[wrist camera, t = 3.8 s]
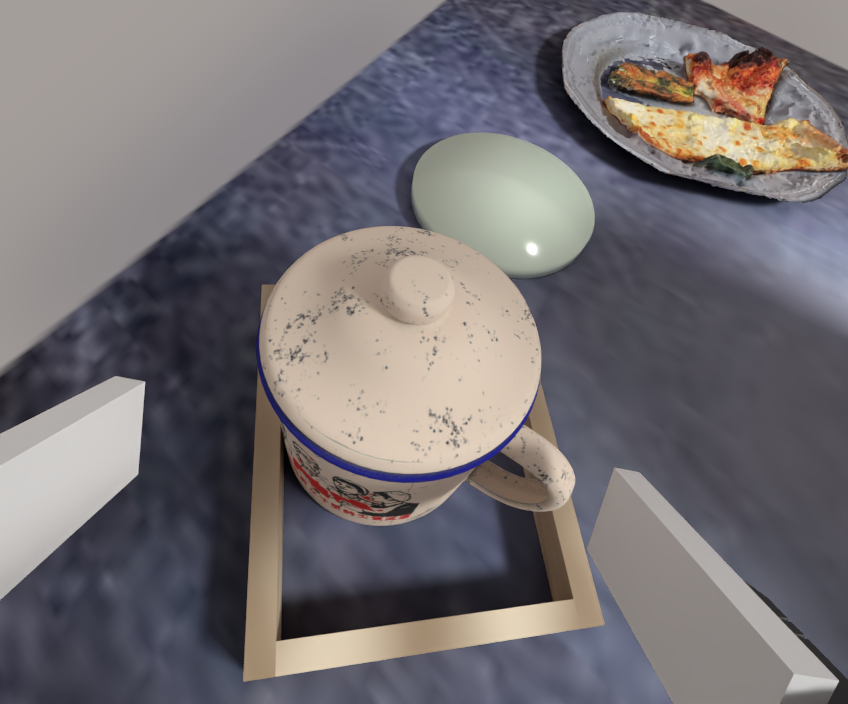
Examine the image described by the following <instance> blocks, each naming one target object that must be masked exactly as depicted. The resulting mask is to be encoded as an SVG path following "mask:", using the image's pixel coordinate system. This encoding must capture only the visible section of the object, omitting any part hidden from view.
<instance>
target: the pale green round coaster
mask: <svg viewBox="0 0 848 704" xmlns="http://www.w3.org/2000/svg"><path fill="white" fill-rule="evenodd" d="M411 203H412V208H413V212H414V214H415V217H416V219H417V221H418V223H419V225H420V226H421V228H422V229H424V230H428V231H432V232H436V233H439V234H442V235H445V236H448V237H450V238H453V239H455V240H457V241H460V242H462V243H464V244H466V245H468V246H469V247H471V248H473V249H475V250H476V251H478V252H479V253H481V254H482V255H484V256H485V257H486V258H488V259H489V260H490V261H492V262H493V263H494V264H495V265H496V266H497V267H499V268H500V269H501V270H502V271H503V272H504V273H505V274H506V275H507V276H508V277H509V278H516V279H526V278H537V277H543V276H546V275H550V274H553V273H555V272H558V271H560V270H562V269H564V268H565V267H567V266H568V265H569V264H571V263H572V262H573V261H574V260H575V259H576V258H577V257H578V256H579V254H580V253H581V251H582V250H583V248H584V247H585V245H586V244H587V242H588V241H589V239H590V237H591V235H592V232H593V228H594V224H595V213H594V207H593V203H592V200H591V197H590V195H589V193H588V191H587V189H586V188H585V186H584V184H583V183H582V181H581V180H580V179H579V178H578V176H577V175H576V174H575V173H574V172H573V171H572V170H571V169H570V168H569V167H568V166H567V165H566V164H564V163H563V162H562V161H561V160H560V159H558V158H557V157H555V156H554V155H552V154H551V153H549V152H547V151H546V150H544V149H542V148H540V147H538V146H536V145H534V144H532V143H529V142H526V141H524V140H521V139H518V138H514V137H511V136H506V135H501V134H494V133H466V134H460V135H456V136H452V137H449V138H446V139H444V140H442V141H440V142H438V143H436V144H435V145H433V146H432V147H431V148H429V149H428V150H427V151H426V152H425V153H424V154H423V155H422V157H421V158H420V160H419V162H418V163H417V165H416V168H415V171H414V176H413V181H412V187H411Z"/></svg>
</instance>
